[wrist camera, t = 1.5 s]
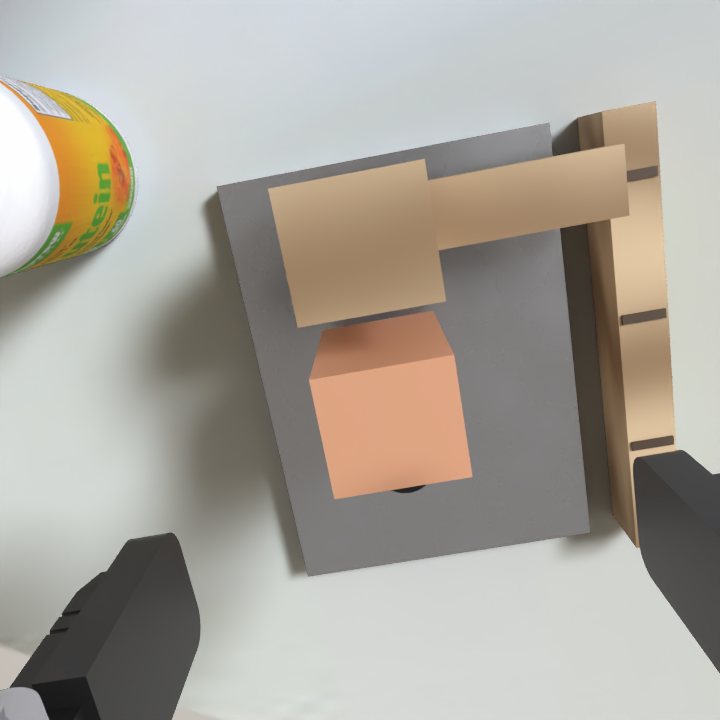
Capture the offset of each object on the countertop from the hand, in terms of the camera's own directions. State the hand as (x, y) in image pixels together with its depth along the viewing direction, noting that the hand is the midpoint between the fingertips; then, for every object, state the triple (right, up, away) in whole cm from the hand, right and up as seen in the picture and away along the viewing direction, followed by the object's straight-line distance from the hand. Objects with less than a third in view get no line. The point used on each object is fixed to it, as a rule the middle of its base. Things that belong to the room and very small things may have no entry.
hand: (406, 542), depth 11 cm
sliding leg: (0, +3, +11) cm, 12 cm away
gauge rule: (+4, +4, +13) cm, 14 cm away
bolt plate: (+1, +3, +13) cm, 13 cm away
